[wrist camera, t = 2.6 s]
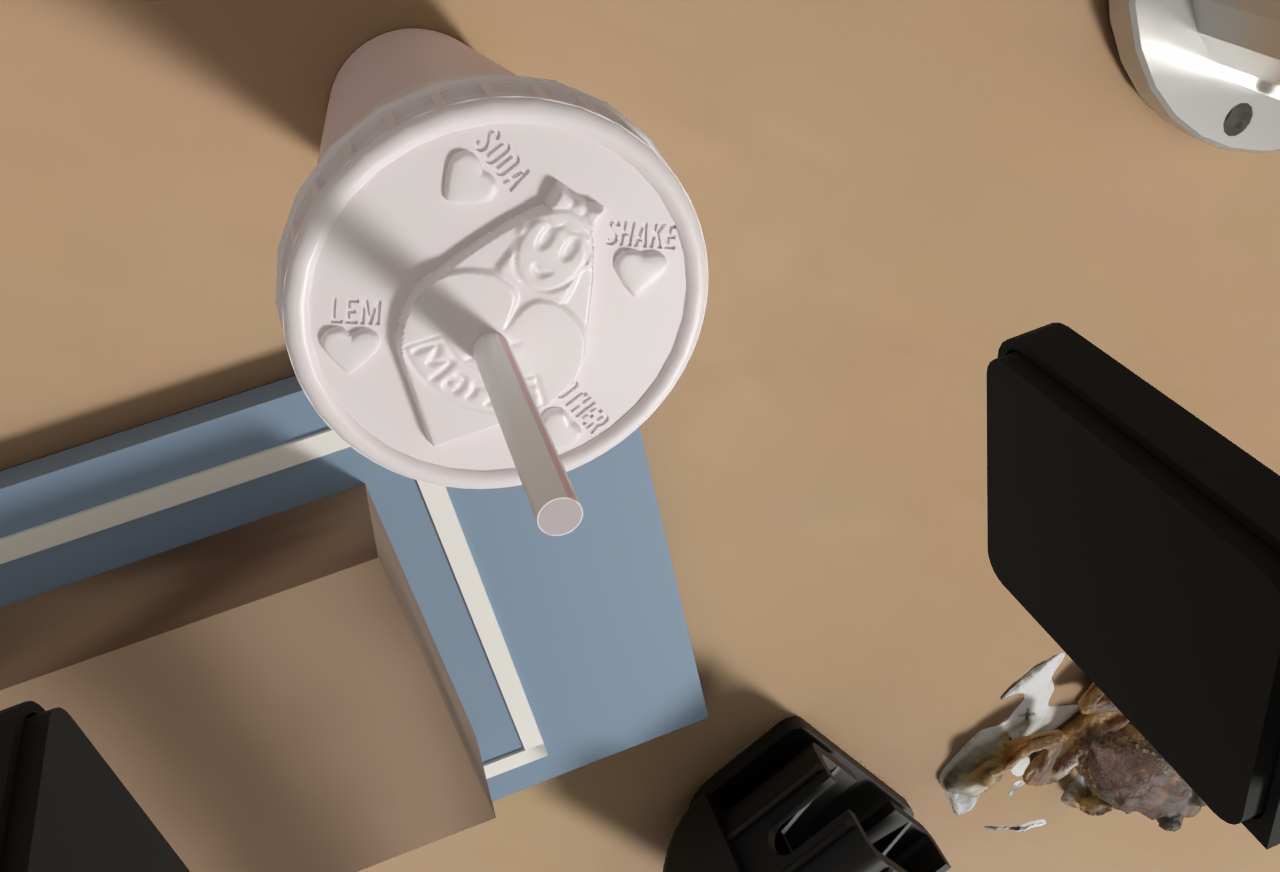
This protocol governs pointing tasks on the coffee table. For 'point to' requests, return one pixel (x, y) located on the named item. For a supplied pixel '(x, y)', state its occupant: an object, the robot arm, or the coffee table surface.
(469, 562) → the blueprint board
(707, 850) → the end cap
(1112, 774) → the frog figurine
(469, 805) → the plinth
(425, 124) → the smoothie
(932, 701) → the coffee table surface
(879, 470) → the coffee table surface
